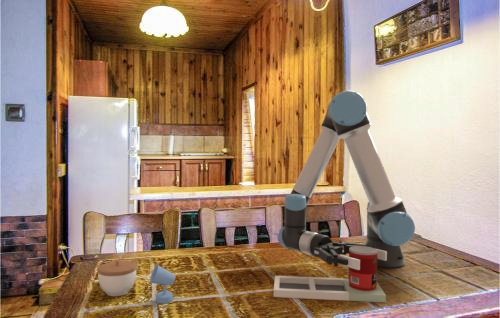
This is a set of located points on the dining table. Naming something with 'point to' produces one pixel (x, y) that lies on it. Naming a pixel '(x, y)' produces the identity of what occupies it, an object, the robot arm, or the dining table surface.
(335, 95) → the robot arm
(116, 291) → the lidded jar
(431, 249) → the dining table surface
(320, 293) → the board
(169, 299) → the spotlight
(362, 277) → the canned food
